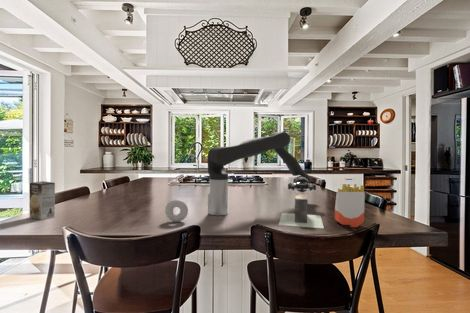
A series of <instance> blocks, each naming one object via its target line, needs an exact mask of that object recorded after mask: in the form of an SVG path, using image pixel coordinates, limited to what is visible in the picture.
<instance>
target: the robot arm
mask: <svg viewBox="0 0 470 313" xmlns="http://www.w3.org/2000/svg"><path fill="white" fill-rule="evenodd" d="M290 142H291V136H290V135H289V133H288V132H285V131H278V132H277V131H276V132H272V133H270V134H269V136H258V137H252V138H249V139H246V140H243V141H242V142H240V143H239V144H238V143H237V145H236V144H235V145H231V146H214V147H211V148H210V149H209V150H208V153H207V174H208V176H209V177H208V178H209V190H208V191H209V194H207V215H212V216H225V215H228V213H229V212H228V210H229V208H228V207H229V173H228V172H226V170H225V166H227V165H229V164H231V163H234V162H236V161H238V160H242V159H247V158H252V157H255V156H258V155H261V154H263V153H267V152H269V151H271V150H274V152H276V154H277V155H278V156H279V157H280V159H281V160H282V161H283V162H284V164H285V165H286V167H287V169H288V170H289V172H290V174H291V175H292V176H293V177H294V178H293V183H291V182H289V183H288V185H287V189H288V190H292V191H298V192H300V193H304V192H307V191H310V192H311V191H313V190H314V191H316V190H317V184H316V183H312V184H310V183H311V181H312V178H311V177H310V175H309V174H308V173H307V172H305V170H304V169H303V168H302V166H301V165H300V163H299V161H298V159H296V158H295V156H293V155H292V154H291V153H290V152H289V151H288V150H287V149H286V147H287V146H289V144H290Z"/></svg>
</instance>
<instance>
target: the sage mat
mask: <svg viewBox="0 0 470 313" xmlns="http://www.w3.org/2000/svg"><path fill="white" fill-rule="evenodd" d="M278 226H288V227H300V228H312V229H313V228H315V229H324V228H325V227H324V224H323V220H322V217H321V215H317V214H307V223H297V222H295V213H289V212H282V213H281V215H280V219H279V222H278Z"/></svg>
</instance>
